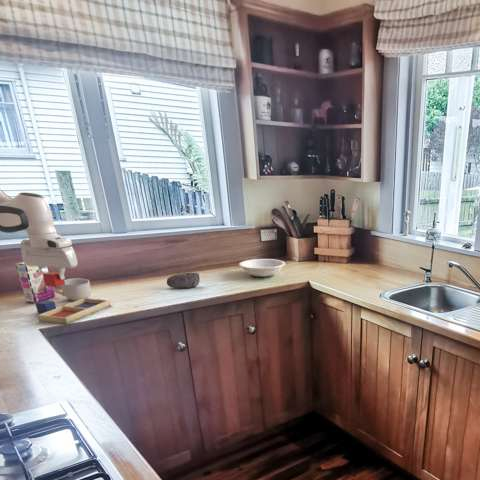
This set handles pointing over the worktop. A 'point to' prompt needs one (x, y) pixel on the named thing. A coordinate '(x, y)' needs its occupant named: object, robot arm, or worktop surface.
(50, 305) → the navy block
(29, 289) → the candy bar box
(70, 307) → the tray
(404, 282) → the worktop surface
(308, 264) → the worktop surface
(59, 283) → the red block
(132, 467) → the worktop surface
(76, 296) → the teacup
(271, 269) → the soup bowl
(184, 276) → the perforated stone tool
